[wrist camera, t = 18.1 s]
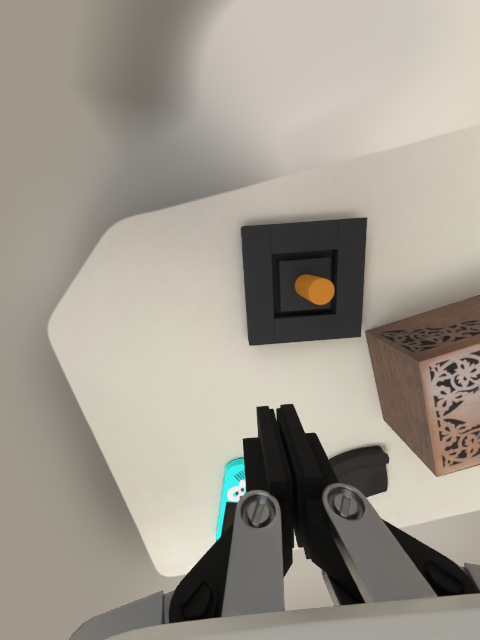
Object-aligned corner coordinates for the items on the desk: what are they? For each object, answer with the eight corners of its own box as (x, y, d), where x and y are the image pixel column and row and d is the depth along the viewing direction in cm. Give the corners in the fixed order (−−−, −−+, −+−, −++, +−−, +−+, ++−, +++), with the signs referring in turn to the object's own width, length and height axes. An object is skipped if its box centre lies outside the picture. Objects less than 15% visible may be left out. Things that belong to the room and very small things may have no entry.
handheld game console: (292, 461, 39) (294, 468, 37) (275, 539, 43) (276, 548, 41) (227, 455, 38) (227, 463, 37) (216, 535, 42) (215, 544, 41)
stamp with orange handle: (277, 260, 30) (290, 262, 24) (326, 257, 31) (353, 257, 24) (278, 309, 32) (291, 324, 25) (325, 305, 32) (351, 319, 25)
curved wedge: (294, 459, 39) (297, 468, 37) (382, 444, 39) (388, 452, 37) (301, 502, 41) (304, 511, 39) (384, 487, 41) (390, 496, 39)
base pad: (240, 228, 30) (241, 226, 28) (356, 220, 30) (367, 217, 28) (248, 339, 34) (249, 345, 31) (352, 331, 34) (361, 337, 32)
